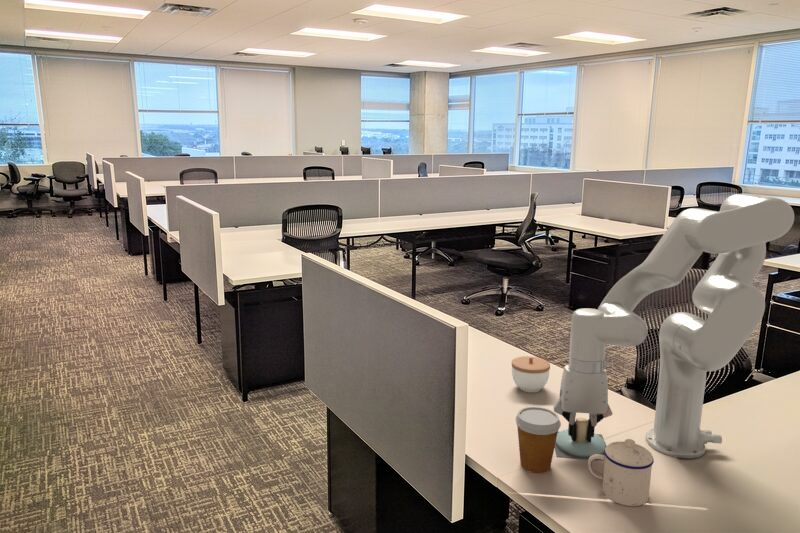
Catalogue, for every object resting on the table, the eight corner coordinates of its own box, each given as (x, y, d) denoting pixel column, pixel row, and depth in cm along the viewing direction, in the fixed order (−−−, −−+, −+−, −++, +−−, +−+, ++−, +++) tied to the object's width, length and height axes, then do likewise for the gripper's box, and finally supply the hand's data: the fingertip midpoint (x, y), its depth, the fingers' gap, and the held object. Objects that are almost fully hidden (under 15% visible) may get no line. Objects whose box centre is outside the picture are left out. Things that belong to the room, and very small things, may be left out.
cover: (599, 435, 138) (601, 411, 136) (610, 459, 127) (612, 433, 126) (552, 432, 139) (554, 408, 138) (559, 455, 128) (560, 430, 127)
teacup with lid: (650, 487, 117) (655, 435, 115) (649, 512, 109) (654, 457, 107) (588, 473, 122) (592, 423, 120) (583, 497, 114) (587, 443, 112)
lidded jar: (503, 383, 169) (505, 352, 167) (536, 378, 172) (537, 349, 170) (522, 398, 159) (523, 366, 157) (556, 393, 162) (558, 361, 160)
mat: (601, 436, 138) (601, 434, 138) (612, 462, 126) (612, 461, 126) (550, 432, 140) (550, 430, 140) (556, 458, 128) (556, 456, 128)
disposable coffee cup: (559, 481, 119) (562, 428, 117) (512, 476, 121) (515, 423, 119) (556, 457, 129) (559, 407, 126) (513, 452, 130) (515, 403, 128)
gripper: (620, 359, 131) (613, 433, 135) (547, 355, 134) (542, 428, 137) (628, 372, 124) (621, 449, 128) (550, 368, 126) (546, 444, 130)
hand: (580, 438), depth 133 cm, fingers closed on cover, 2 cm apart
